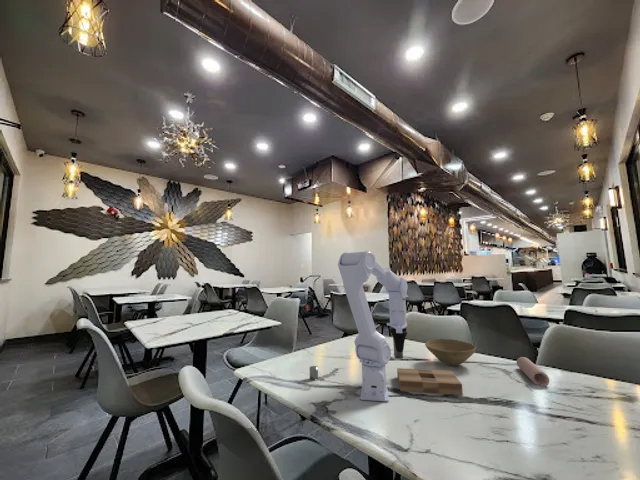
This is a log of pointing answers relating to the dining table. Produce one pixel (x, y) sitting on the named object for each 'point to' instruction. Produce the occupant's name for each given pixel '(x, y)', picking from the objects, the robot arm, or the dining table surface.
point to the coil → (533, 371)
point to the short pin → (313, 372)
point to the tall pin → (397, 354)
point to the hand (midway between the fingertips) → (399, 350)
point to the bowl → (450, 350)
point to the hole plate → (429, 381)
